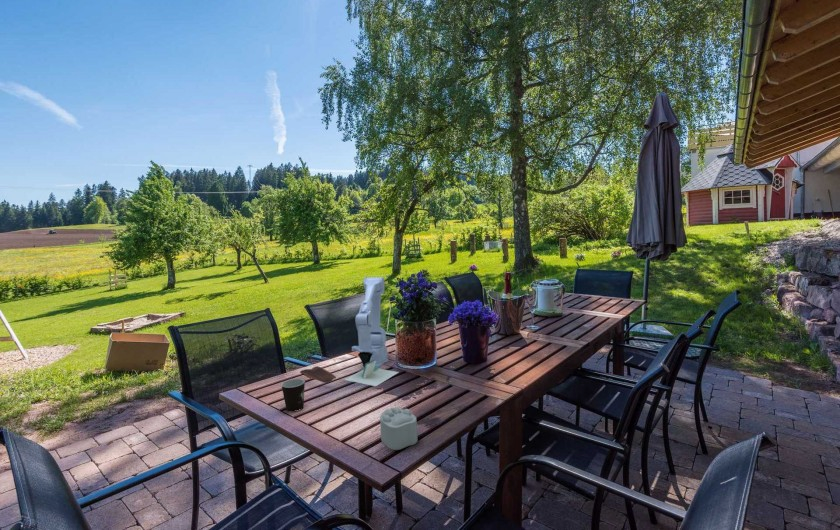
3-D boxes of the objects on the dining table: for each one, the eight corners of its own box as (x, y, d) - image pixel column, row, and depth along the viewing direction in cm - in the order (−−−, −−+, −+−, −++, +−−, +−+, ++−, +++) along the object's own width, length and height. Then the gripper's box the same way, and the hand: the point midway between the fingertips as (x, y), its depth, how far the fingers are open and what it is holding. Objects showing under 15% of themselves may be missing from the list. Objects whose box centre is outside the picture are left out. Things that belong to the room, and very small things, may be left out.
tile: (369, 372, 182) (373, 359, 180) (372, 374, 181) (376, 361, 180) (361, 376, 177) (365, 363, 175) (364, 378, 176) (368, 365, 174)
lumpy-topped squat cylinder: (392, 452, 117) (391, 424, 116) (374, 434, 128) (373, 408, 127) (421, 441, 122) (420, 415, 122) (402, 424, 133) (401, 400, 133)
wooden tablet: (344, 378, 176) (324, 382, 170) (344, 383, 176) (324, 387, 170) (317, 365, 196) (298, 368, 189) (317, 369, 196) (298, 372, 189)
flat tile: (369, 367, 191) (369, 363, 191) (380, 369, 188) (380, 365, 187) (361, 371, 186) (361, 367, 186) (373, 373, 182) (373, 369, 182)
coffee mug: (293, 415, 144) (291, 389, 143) (278, 410, 149) (276, 385, 148) (317, 402, 154) (315, 378, 153) (302, 398, 159) (300, 374, 158)
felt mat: (368, 367, 191) (368, 366, 191) (398, 373, 182) (398, 372, 182) (344, 380, 176) (344, 379, 176) (375, 387, 167) (375, 386, 167)
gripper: (346, 339, 178) (348, 368, 179) (371, 342, 171) (373, 372, 172) (356, 335, 184) (358, 363, 185) (381, 338, 177) (382, 367, 178)
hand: (366, 367), depth 179 cm, fingers closed
